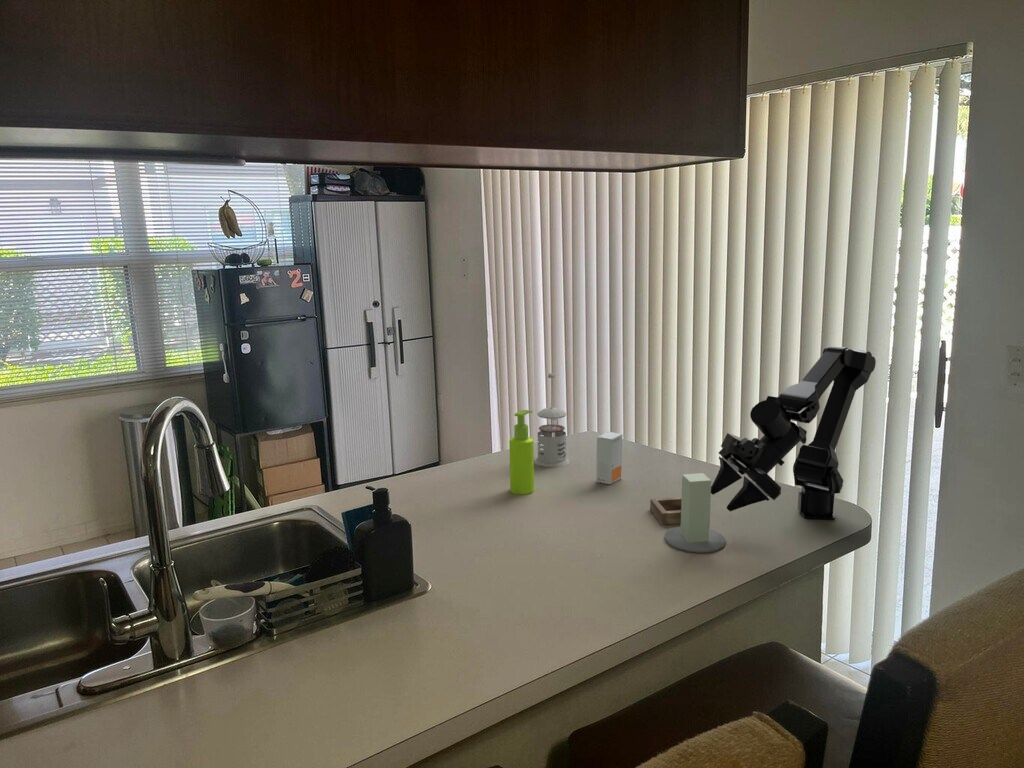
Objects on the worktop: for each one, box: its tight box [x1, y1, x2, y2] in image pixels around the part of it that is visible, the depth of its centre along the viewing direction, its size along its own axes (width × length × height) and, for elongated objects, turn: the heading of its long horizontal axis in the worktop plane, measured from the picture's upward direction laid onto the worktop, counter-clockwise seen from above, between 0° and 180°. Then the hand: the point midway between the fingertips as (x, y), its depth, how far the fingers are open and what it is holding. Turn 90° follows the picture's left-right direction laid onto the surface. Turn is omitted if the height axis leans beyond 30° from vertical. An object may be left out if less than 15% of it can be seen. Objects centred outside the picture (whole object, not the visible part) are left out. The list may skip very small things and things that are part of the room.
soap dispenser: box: [508, 409, 535, 496], centre depth 178 cm, size 6×7×20 cm
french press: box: [534, 372, 571, 468], centre depth 200 cm, size 10×12×25 cm
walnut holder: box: [649, 496, 682, 525], centre depth 162 cm, size 9×9×2 cm
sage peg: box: [680, 472, 712, 543], centre depth 148 cm, size 4×4×13 cm
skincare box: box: [595, 431, 623, 485], centre depth 184 cm, size 6×4×12 cm
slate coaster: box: [664, 525, 726, 554], centre depth 149 cm, size 12×12×1 cm
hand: (719, 501), depth 148 cm, fingers open, 9 cm apart
